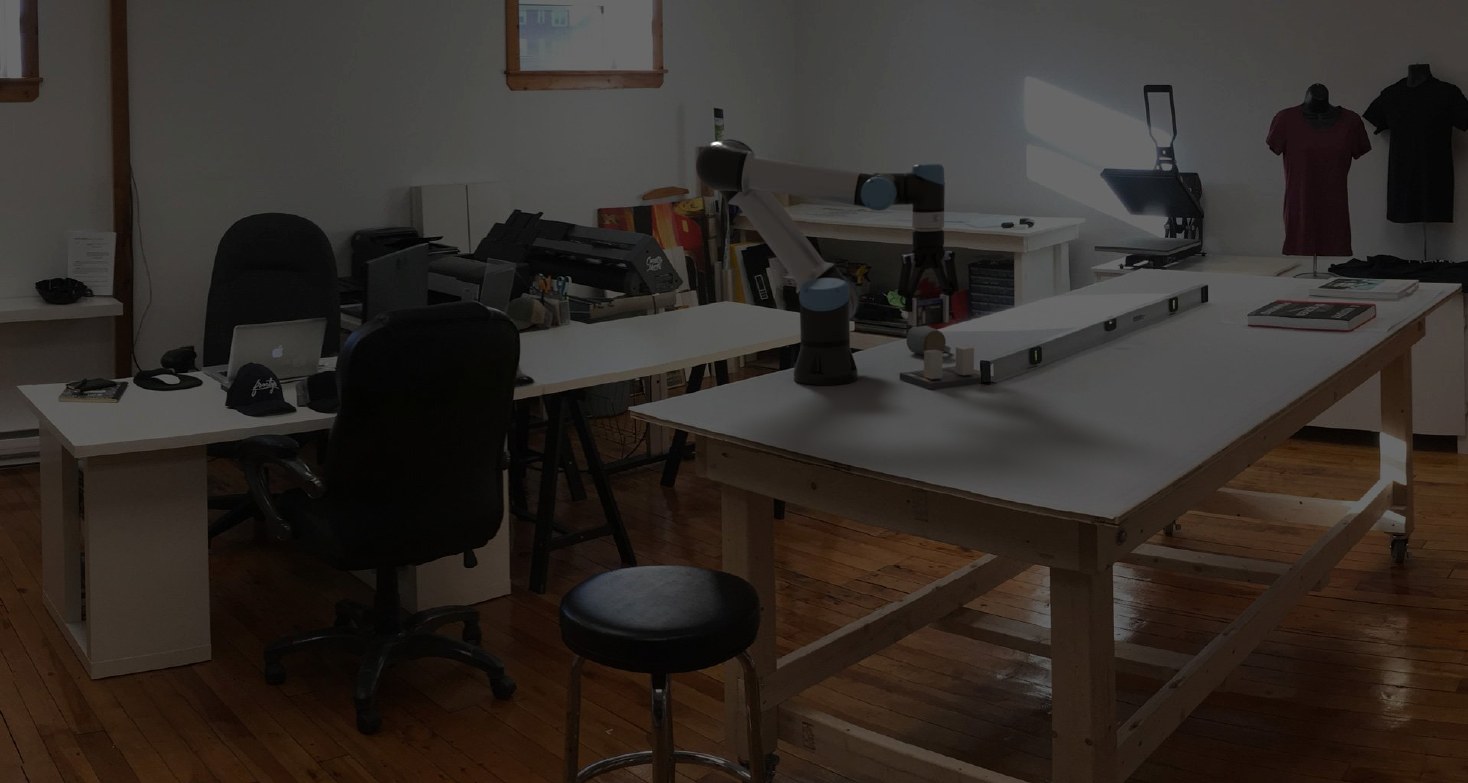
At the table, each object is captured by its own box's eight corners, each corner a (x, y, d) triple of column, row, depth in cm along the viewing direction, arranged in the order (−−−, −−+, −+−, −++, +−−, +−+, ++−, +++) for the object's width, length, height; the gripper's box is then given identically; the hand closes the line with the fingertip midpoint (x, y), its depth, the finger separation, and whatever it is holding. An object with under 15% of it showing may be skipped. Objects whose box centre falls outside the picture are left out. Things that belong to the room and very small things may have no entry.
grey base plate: (931, 389, 292) (931, 383, 291) (899, 379, 304) (899, 372, 304) (994, 381, 298) (994, 375, 298) (960, 371, 311) (960, 365, 310)
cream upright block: (931, 379, 294) (931, 352, 293) (924, 376, 297) (924, 350, 295) (942, 377, 295) (942, 351, 294) (935, 375, 298) (935, 349, 297)
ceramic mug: (924, 359, 328) (925, 329, 326) (905, 354, 335) (906, 325, 333) (957, 355, 333) (958, 325, 331) (938, 350, 340) (938, 321, 338)
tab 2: (962, 375, 297) (962, 349, 296) (955, 373, 300) (955, 347, 299) (973, 373, 298) (973, 348, 297) (966, 371, 301) (966, 346, 300)
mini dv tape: (917, 326, 309) (917, 302, 308) (913, 326, 310) (913, 301, 309) (943, 323, 313) (943, 298, 312) (939, 322, 314) (939, 298, 313)
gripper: (897, 233, 299) (898, 329, 304) (974, 227, 307) (973, 321, 312) (881, 231, 306) (882, 325, 311) (957, 225, 314) (956, 317, 319)
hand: (928, 323), depth 312 cm, fingers closed on mini dv tape, 8 cm apart
